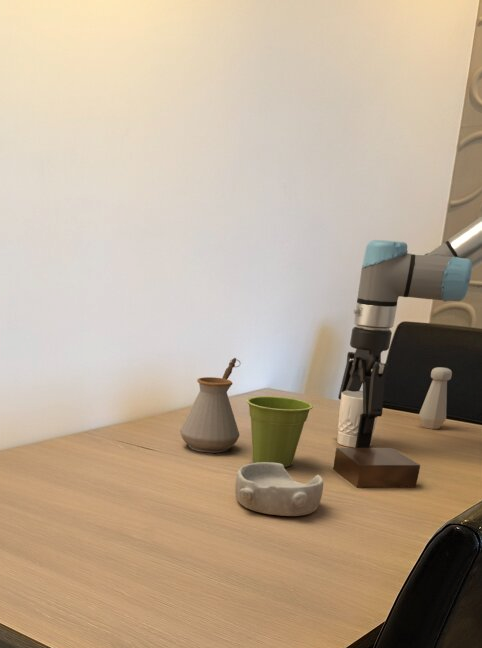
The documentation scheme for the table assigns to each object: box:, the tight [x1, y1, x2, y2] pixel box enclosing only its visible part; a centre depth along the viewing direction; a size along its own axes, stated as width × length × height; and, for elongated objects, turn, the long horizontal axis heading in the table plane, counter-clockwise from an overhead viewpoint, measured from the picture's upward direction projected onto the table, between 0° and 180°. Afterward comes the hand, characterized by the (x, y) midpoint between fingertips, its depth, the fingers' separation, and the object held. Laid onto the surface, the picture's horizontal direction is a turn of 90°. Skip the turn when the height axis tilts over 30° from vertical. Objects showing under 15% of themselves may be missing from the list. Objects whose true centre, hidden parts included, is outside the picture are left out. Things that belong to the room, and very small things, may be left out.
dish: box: [234, 462, 324, 517], centre depth 130 cm, size 14×14×5 cm
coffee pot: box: [179, 357, 242, 453], centre depth 161 cm, size 21×12×15 cm, turn 160°
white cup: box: [336, 390, 378, 448], centre depth 167 cm, size 8×8×10 cm
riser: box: [332, 447, 421, 489], centre depth 147 cm, size 11×11×4 cm
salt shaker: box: [418, 366, 453, 430], centre depth 184 cm, size 6×6×13 cm
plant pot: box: [246, 395, 314, 469], centre depth 150 cm, size 12×12×11 cm
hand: (352, 442), depth 169 cm, fingers open, 8 cm apart
